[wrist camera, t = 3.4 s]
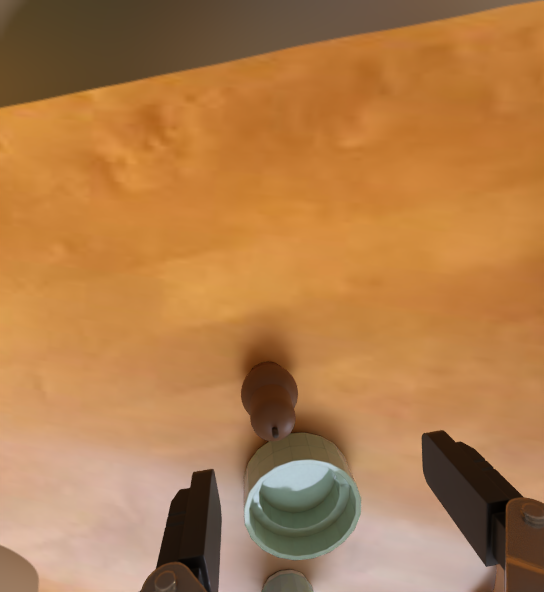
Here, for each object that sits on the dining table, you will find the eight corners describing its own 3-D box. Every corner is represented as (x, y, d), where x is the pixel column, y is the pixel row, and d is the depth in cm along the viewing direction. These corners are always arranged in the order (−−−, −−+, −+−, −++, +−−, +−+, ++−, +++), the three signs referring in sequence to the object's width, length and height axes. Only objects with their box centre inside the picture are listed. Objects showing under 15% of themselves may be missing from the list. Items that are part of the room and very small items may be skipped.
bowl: (260, 419, 43) (262, 448, 38) (360, 441, 45) (377, 472, 39) (232, 510, 45) (230, 549, 40) (328, 527, 47) (339, 568, 42)
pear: (249, 349, 41) (251, 397, 30) (299, 361, 42) (319, 413, 31) (235, 397, 42) (232, 460, 31) (284, 408, 43) (298, 473, 32)
